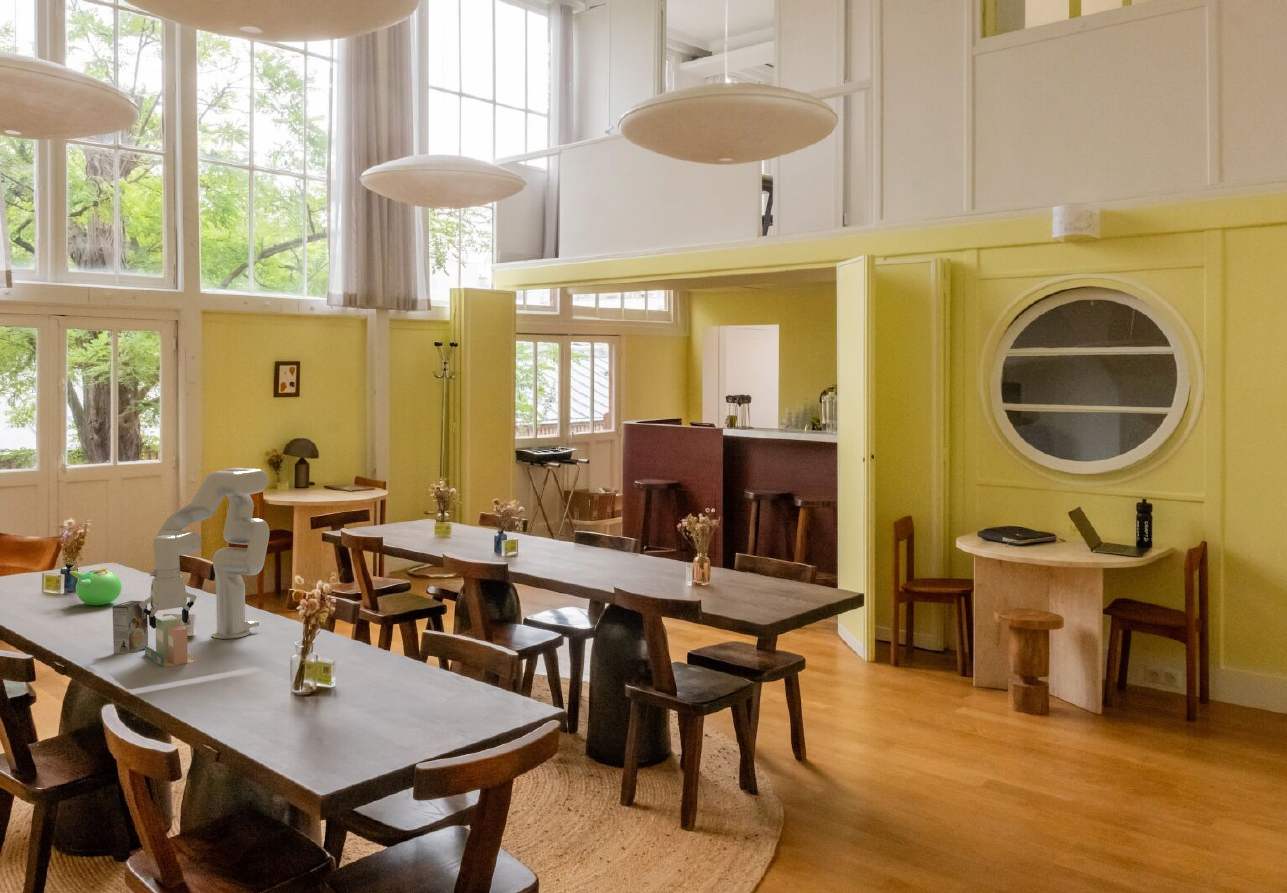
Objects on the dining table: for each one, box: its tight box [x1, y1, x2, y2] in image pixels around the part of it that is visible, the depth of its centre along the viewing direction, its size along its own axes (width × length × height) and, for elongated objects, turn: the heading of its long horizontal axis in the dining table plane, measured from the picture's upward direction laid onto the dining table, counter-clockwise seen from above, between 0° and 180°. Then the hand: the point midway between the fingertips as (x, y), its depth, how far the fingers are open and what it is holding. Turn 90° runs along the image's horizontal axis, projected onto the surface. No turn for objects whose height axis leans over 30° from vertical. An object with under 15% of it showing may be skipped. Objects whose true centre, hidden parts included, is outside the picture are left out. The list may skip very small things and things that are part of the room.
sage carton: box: [155, 615, 181, 659], centre depth 321 cm, size 8×5×12 cm, turn 43°
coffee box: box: [112, 600, 149, 655], centre depth 330 cm, size 9×6×16 cm
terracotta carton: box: [168, 624, 189, 666], centre depth 313 cm, size 4×6×11 cm
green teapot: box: [69, 567, 122, 606], centre depth 395 cm, size 18×17×15 cm
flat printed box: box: [144, 645, 200, 668], centre depth 318 cm, size 11×18×4 cm, turn 42°
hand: (169, 624), depth 321 cm, fingers open, 9 cm apart
